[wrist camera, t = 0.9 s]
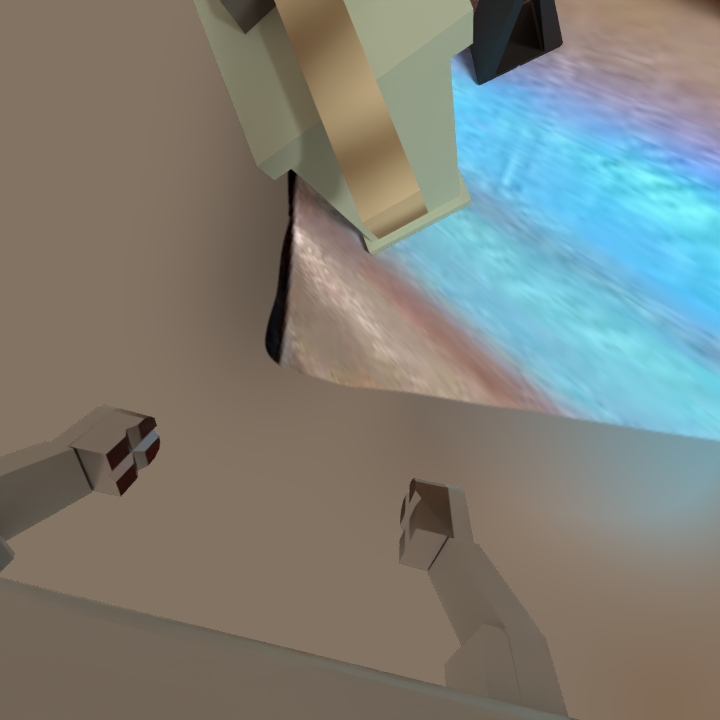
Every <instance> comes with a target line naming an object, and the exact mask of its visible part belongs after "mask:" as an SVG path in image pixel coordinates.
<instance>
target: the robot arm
mask: <svg viewBox="0 0 720 720" xmlns="http://www.w3.org/2000/svg"><path fill="white" fill-rule="evenodd" d="M156 426H157V424H156V421H155V418H153V417H150V416H146V415H142V414H139V413H135V412H131V411H127V410H123V409H119V408H115V407H111V406H107V405H102V406H99V407H97V408H95V409H94V410H93V411H91V412H90V413H89V414H87V415H86V416H85V417H84V418H82V419H81V420H79V421H78V422H77V423H76V424H74V425H73V426H71V427H70V428H69V429H67V430H66V431H65V432H63V433H62V434H61V435H59V436H58V437H57V438H55V439H54V440H53V441H51V442H42V443H39V444H36V445H33V446H30V447H27V448H24V449H22V450H19V451H16V452H13V453H10V454H7V455H4V456H1V457H0V572H1V571H2V570H3V569H4V568H5V567H6V566H7V565H8V564H9V563H10V562H11V561H12V560H13V559H14V555H15V553H14V551H13V550H12V549H11V547H10V546H9V545H8V544H7V542H6V541H7V540H9V539H10V538H12V537H14V536H16V535H17V534H19V533H21V532H23V531H24V530H26V529H28V528H30V527H32V526H34V525H35V524H37V523H39V522H41V521H42V520H44V519H46V518H48V517H49V516H51V515H53V514H55V513H57V512H58V511H60V510H62V509H64V508H65V507H67V506H69V505H71V504H72V503H74V502H76V501H78V500H79V499H81V498H83V497H85V496H87V495H88V494H90V493H92V491H96V492H101V493H106V494H110V495H115V496H120V497H121V496H122V495H123V494H124V493H125V492H126V490H127V489H128V488H129V487H130V486H131V485H132V484H133V483H134V481H135V480H136V479H137V478H138V470H140V469H142V468H144V467H147V466H148V465H149V464H150V463H151V462H152V460H153V459H154V458H155V457H156V454H157V452H158V450H159V447H160V439H159V435H158V434H157V433H156V432H155V431H154V430H153V429H154V428H155V427H156ZM409 491H410V492H409V493H407V494H406V495H405V497H404V500H403V504H402V508H401V516H400V526H401V528H402V530H403V534H402V536H401V538H400V547H399V563H400V564H403V565H407V566H411V567H414V568H418V569H422V570H425V571H428V575H429V577H430V579H431V581H432V583H433V586H434V588H435V590H436V592H437V594H438V596H439V599H440V601H441V603H442V605H443V607H444V609H445V611H446V614H447V616H448V618H449V620H450V622H451V624H452V626H453V628H454V631H455V633H456V635H457V637H458V639H459V641H460V644H461V647H460V648H459V649H458V650H457V651H456V653H454V655H453V656H452V657H451V658H450V659H449V660H448V661H447V662H446V663H445V679H446V687H444V686H441V685H437V684H432V683H428V682H424V681H420V680H416V679H412V678H408V677H404V676H400V675H396V674H392V673H388V672H384V671H380V670H376V669H372V668H368V667H363V666H360V665H355V664H351V663H347V662H343V661H339V660H335V659H331V658H327V657H323V656H319V655H315V654H311V653H307V652H303V651H299V650H294V649H291V648H287V647H282V646H278V645H274V644H270V643H266V642H262V641H258V640H254V639H250V638H245V637H242V636H238V635H234V634H230V633H226V632H222V631H218V630H213V629H209V628H205V627H201V626H197V625H193V624H189V623H185V622H181V621H177V620H173V619H169V618H164V617H161V616H157V615H153V614H149V613H144V612H141V611H136V610H132V609H128V608H124V607H120V606H116V605H112V604H108V603H104V602H100V601H96V600H92V599H88V598H84V597H80V596H75V595H72V594H67V593H63V592H59V591H55V590H51V589H47V588H43V587H39V586H35V585H31V584H27V583H23V582H19V581H15V580H11V579H6V578H2V577H0V720H578V719H574V718H570V717H568V713H567V710H566V706H565V703H564V699H563V696H562V693H561V689H560V685H559V682H558V679H557V675H556V672H555V668H554V665H553V661H552V658H551V655H550V651H549V648H548V644H547V641H546V638H545V636H544V635H543V633H542V632H541V630H540V629H539V628H538V627H537V625H536V624H535V622H534V621H533V619H532V618H531V617H530V615H529V614H528V612H527V611H526V610H525V608H524V607H523V605H522V604H521V603H520V601H519V600H518V598H517V597H516V596H515V594H514V593H513V591H512V590H511V589H510V587H509V586H508V584H507V583H506V582H505V580H504V579H503V577H502V576H501V575H500V573H499V572H498V571H497V569H496V568H495V566H494V565H493V563H492V562H491V561H490V560H489V558H488V557H487V555H486V554H485V552H484V551H483V550H482V548H481V547H480V545H479V544H475V543H474V542H473V536H472V530H471V525H470V519H469V513H468V508H467V502H466V497H465V492H464V490H463V489H460V488H456V487H452V486H448V485H444V484H440V483H436V482H431V481H426V480H422V479H417V478H413V479H412V481H411V483H410V485H409Z"/></svg>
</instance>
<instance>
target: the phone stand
mask: <svg viewBox="0 0 720 720" xmlns="http://www.w3.org/2000/svg"><path fill="white" fill-rule="evenodd" d="M524 1H525V0H479V3H478V6H477V9H476V12H475V14H474V17H473V44H471V45H470V48H471V52H472V57H473V61H474V65H475V70H476V74H477V78H478V83H479V85H481V84H483V83H486V82H488V81H490V80H492V79H494V78H496V77H498V76H500V75H502V74H504V73H506V72H508V71H510V70H513V69H515V68H517V66H519V65H520V66H521V65H523V64H525V63H527V62H529V61H531V60H533V59H535V58H537V57H539V56H542V55H544V54H546V53H548V52H550V51H552V50H554V49H556V48H558V47H560V46H561V45H562V43H563V41H562V36H561V31H560V26H559V21H558V16H557V11H556V6H555V1H554V0H531V1H530V2H528V3H526V4H524V5H523V3H524Z"/></svg>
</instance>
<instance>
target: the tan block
mask: <svg viewBox="0 0 720 720" xmlns="http://www.w3.org/2000/svg"><path fill="white" fill-rule="evenodd" d="M220 2H221V3H222V4H223V6H224V7H225V8H226V10H227V11H228V12H229V13H230V15H231V16H232V17H233V19H234V20H235V21H236V23H237V24H238V25H239V27H240V28H241V29H242V31H243V32H244V33H245V34H246V33H247V32H248V31H249V30H251V29H252V28H253V27H254V26H255V25H256V24H257V23H258V22H259V21H260V20H261V19H262V18H263V17H265V16H266V15H267V14H268V13H269V12H270V11H271V10H272V9H273V8H274V7H275V6H277V9H278V11H279V14H280V16H281V19H282V21H283V24H284V26H285V29H286V31H287V34H288V36H289V39H290V41H291V44H292V47H293V49H294V52H295V54H296V57H297V59H298V62H299V64H300V67H301V69H302V72H303V74H304V77H305V79H306V82H307V84H308V87H309V89H310V92H311V95H312V97H313V100H314V102H315V105H316V107H317V110H318V112H319V115H320V117H321V120H322V122H323V125H324V127H325V130H326V132H327V135H328V138H329V140H330V143H331V145H332V148H333V150H334V153H335V155H336V158H337V160H338V163H339V165H340V168H341V170H342V173H343V175H344V178H345V180H346V183H347V186H348V188H349V191H350V193H351V196H352V198H353V201H354V203H355V206H356V208H357V211H358V213H359V216H360V218H361V221H362V223H363V224H364V225H365V226H366V227H367V228H368V229H369V230H370V231H371V232H372V233H373V234H374V235H375V236H376V237H377V238H378V239H381V238H382V237H384V236H386V235H388V234H390V233H392V232H394V231H395V230H397V229H399V228H401V227H403V226H405V225H407V224H409V223H410V222H412V221H414V220H416V219H418V218H420V217H422V216H423V215H425V214H427V213H428V211H427V208H426V205H425V202H424V200H423V197H422V194H421V191H420V189H419V186H418V184H417V181H416V179H415V176H414V174H413V171H412V169H411V166H410V164H409V161H408V159H407V156H406V154H405V151H404V149H403V147H402V144H401V142H400V139H399V137H398V134H397V132H396V129H395V127H394V124H393V122H392V119H391V117H390V114H389V112H388V109H387V107H386V104H385V102H384V100H383V97H382V95H381V92H380V90H379V87H378V85H377V82H376V80H375V77H374V75H373V72H372V70H371V67H370V65H369V62H368V60H367V57H366V55H365V53H364V50H363V48H362V45H361V43H360V40H359V38H358V35H357V33H356V30H355V28H354V25H353V23H352V20H351V18H350V15H349V13H348V10H347V8H346V6H345V3H344V1H343V0H220Z"/></svg>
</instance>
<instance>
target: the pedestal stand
mask: <svg viewBox="0 0 720 720" xmlns="http://www.w3.org/2000/svg"><path fill="white" fill-rule="evenodd" d="M343 1H344V3H345V6H346V8H347V10H348V13H349V15H350V18H351V20H352V23H353V25H354V28H355V30H356V33H357V35H358V38H359V40H360V43H361V45H362V48H363V50H364V53H365V55H366V57H367V60H368V62H369V65H370V67H371V70H372V72H373V75H374V77H375V80H376V82H377V85H378V87H379V90H380V92H381V95H382V97H383V100H384V102H385V104H386V107H387V109H388V112H389V114H390V117H391V119H392V122H393V124H394V127H395V129H396V132H397V134H398V137H399V139H400V142H401V144H402V147H403V149H404V151H405V154H406V156H407V159H408V161H409V164H410V166H411V169H412V171H413V174H414V176H415V179H416V181H417V184H418V186H419V189H420V191H421V194H422V197H423V200H424V202H425V205H426V208H427V211H428V213H427V214H425V215H423V216H422V217H420V218H418V219H416V220H414V221H412V222H410V223H409V224H407V225H405V226H403V227H401V228H399V229H397V230H395V231H394V232H392V233H390V234H388V235H386V236H384V237H382V238H381V239H378V238H377V237H376V236H375V235H374V234H373V233H372V232H371V231H370V230H369V229H368V228H367V227H366V226H365V225H364V224H363V223H362V221H361V218H360V216H359V213H358V211H357V208H356V206H355V203H354V201H353V198H352V196H351V193H350V191H349V188H348V186H347V183H346V180H345V178H344V175H343V173H342V170H341V168H340V165H339V163H338V160H337V158H336V155H335V153H334V150H333V148H332V145H331V143H330V140H329V138H328V135H327V132H326V130H325V127H324V125H323V122H322V120H321V117H320V115H319V112H318V110H317V107H316V105H315V102H314V100H313V97H312V95H311V92H310V89H309V87H308V84H307V82H306V79H305V77H304V74H303V72H302V69H301V67H300V64H299V62H298V59H297V57H296V54H295V52H294V49H293V47H292V44H291V41H290V39H289V36H288V34H287V31H286V29H285V26H284V24H283V21H282V19H281V16H280V14H279V11H278V9H277V6H275V7H274V8H273V9H272V10H271V11H270V12H269V13H268V14H267V15H266V16H265V17H263V18H262V19H261V20H260V21H259V22H258V23H257V24H256V25H255V26H254V27H253V28H252V29H251V30H249V31H248V32H247V33H246V34H245V33H244V32H243V31H242V29H241V28H240V27H239V25H238V24H237V23H236V21H235V20H234V19H233V17H232V16H231V15H230V13H229V12H228V11H227V10H226V8H225V7H224V6H223V4H222V3H221V2H220V0H193V3H194V5H195V8H196V10H197V13H198V15H199V18H200V21H201V23H202V26H203V29H204V31H205V33H206V36H207V39H208V42H209V44H210V47H211V49H212V52H213V54H214V57H215V60H216V62H217V65H218V67H219V70H220V73H221V75H222V78H223V80H224V83H225V85H226V88H227V91H228V93H229V96H230V98H231V101H232V104H233V106H234V109H235V112H236V114H237V117H238V119H239V122H240V124H241V127H242V130H243V132H244V135H245V137H246V140H247V142H248V145H249V148H250V150H251V153H252V155H253V158H254V161H255V163H256V166H257V167H258V168H259V169H261V170H262V171H263V172H265V173H266V174H267V175H268V176H270V177H271V178H272V179H274V180H276V179H277V178H278V177H280V176H281V175H283V174H284V173H286V172H287V171H289V170H290V169H292V170H293V171H295V172H296V173H297V174H298V175H299V176H300V177H301V178H302V179H303V180H304V181H306V182H307V183H308V184H309V185H310V186H311V187H312V188H313V189H314V190H316V191H317V192H318V193H319V194H320V195H321V196H322V197H323V198H324V199H326V200H327V201H328V202H329V203H330V204H331V205H332V206H333V207H334V208H336V209H337V210H338V211H339V212H340V213H341V214H342V215H343V216H344V217H346V218H347V219H348V220H349V221H350V222H351V223H352V224H353V225H354V226H356V227H357V228H358V229H359V230H360V231H361V232H362V235H363V237H364V240H365V242H366V245H367V248H368V250H369V253H370V254H372V255H374V254H376V253H378V252H380V251H382V250H384V249H386V248H388V247H390V246H392V245H393V244H395V243H397V242H399V241H401V240H403V239H405V238H407V237H409V236H411V235H413V234H415V233H416V232H418V231H420V230H422V229H424V228H426V227H428V226H430V225H432V224H434V223H436V222H438V221H439V220H441V219H443V218H445V217H447V216H449V215H451V214H453V213H455V212H457V211H459V210H461V209H462V208H464V207H466V206H468V205H470V204H471V198H470V196H469V193H468V191H467V188H466V186H465V183H464V181H463V179H462V176H461V174H460V171H459V169H458V162H457V148H456V134H455V120H454V106H453V92H452V78H451V65H450V59H451V58H452V57H454V56H455V55H457V54H458V53H459V52H461V51H462V50H464V49H465V48H467V47H468V46H470V45H471V44H473V7H472V5H471V2H470V0H343Z"/></svg>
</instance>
